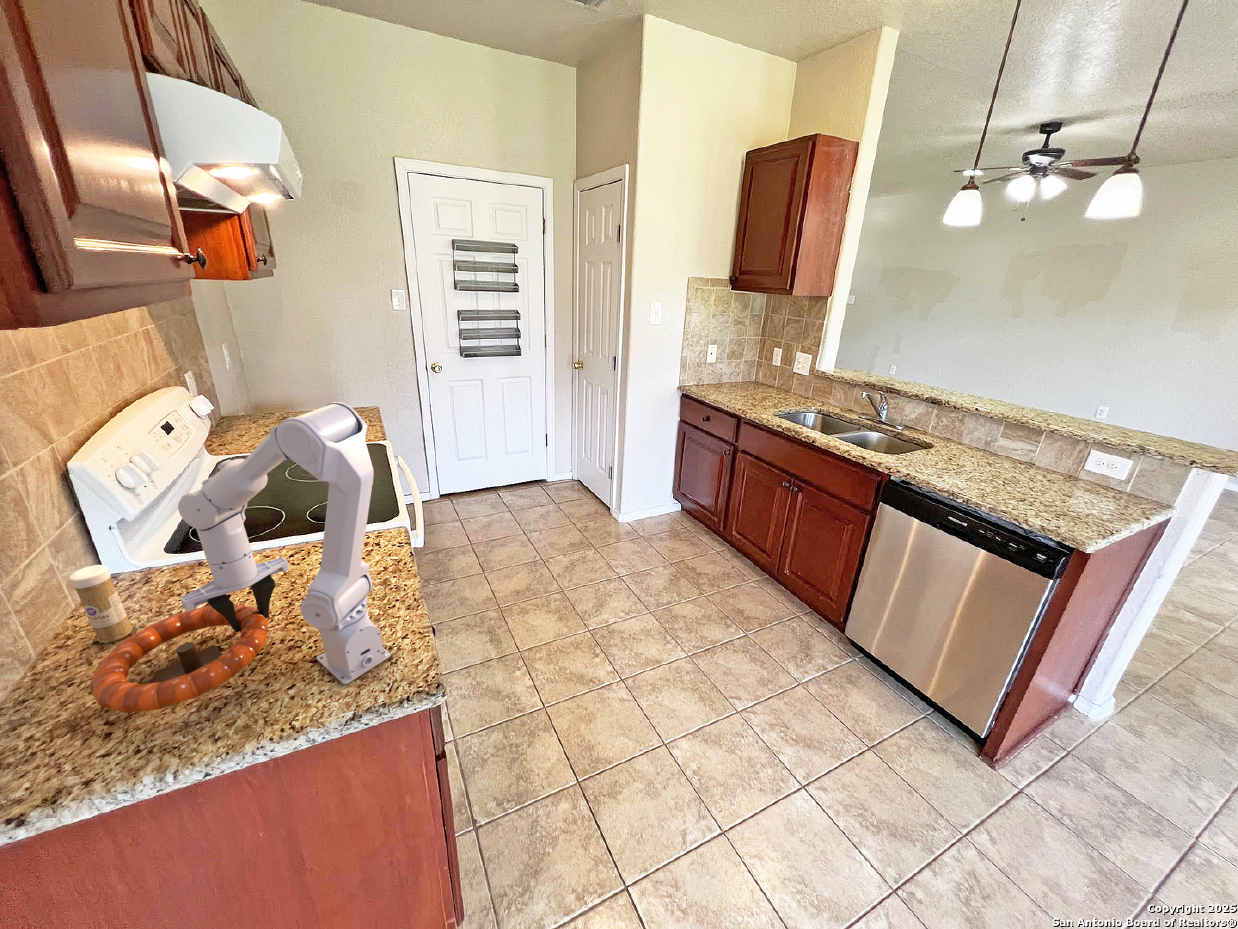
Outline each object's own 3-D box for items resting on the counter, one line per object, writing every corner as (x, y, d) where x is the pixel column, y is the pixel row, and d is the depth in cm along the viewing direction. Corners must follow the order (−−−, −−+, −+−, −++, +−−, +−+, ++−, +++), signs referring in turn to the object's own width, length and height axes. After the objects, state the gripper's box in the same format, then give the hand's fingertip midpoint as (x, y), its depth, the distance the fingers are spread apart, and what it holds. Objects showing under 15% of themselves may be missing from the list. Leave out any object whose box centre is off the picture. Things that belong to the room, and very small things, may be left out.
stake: (234, 671, 80) (225, 643, 78) (172, 703, 74) (160, 674, 72) (215, 649, 84) (206, 623, 82) (155, 678, 78) (143, 650, 76)
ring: (292, 650, 81) (287, 633, 79) (119, 745, 64) (108, 725, 63) (240, 601, 92) (235, 585, 90) (81, 671, 76) (71, 653, 74)
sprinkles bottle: (91, 646, 84) (60, 581, 79) (108, 629, 88) (79, 565, 83) (124, 641, 86) (96, 576, 81) (139, 624, 90) (113, 562, 85)
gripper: (269, 529, 87) (286, 593, 92) (163, 566, 76) (190, 636, 81) (287, 542, 83) (304, 607, 88) (179, 583, 72) (206, 655, 77)
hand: (251, 622), depth 84 cm, fingers closed on ring, 3 cm apart
